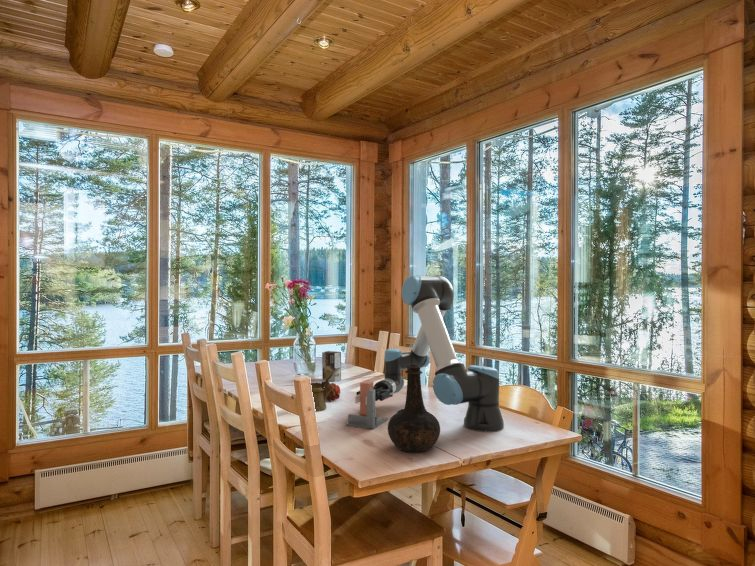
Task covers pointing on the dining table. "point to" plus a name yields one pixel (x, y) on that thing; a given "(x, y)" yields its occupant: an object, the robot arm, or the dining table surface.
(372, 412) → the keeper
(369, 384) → the link bar
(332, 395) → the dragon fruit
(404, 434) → the glass bottle
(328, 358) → the coffee box
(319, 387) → the brass mortar and pestle
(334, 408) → the dining table surface
